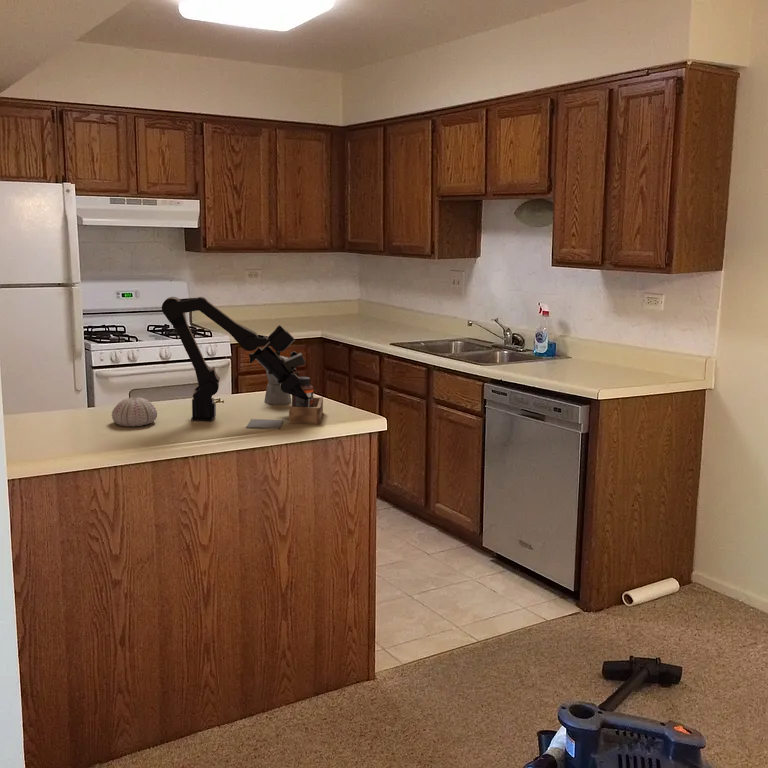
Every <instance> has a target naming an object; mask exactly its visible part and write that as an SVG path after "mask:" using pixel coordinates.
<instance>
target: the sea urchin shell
mask: <svg viewBox="0 0 768 768" xmlns="http://www.w3.org/2000/svg"><path fill="white" fill-rule="evenodd" d="M157 418H158V411H157V409H156V407H155V405H154V404H153V403H152V402H150V401H149V400H148V399H146V398H143V397H138V396H132V397H126V398H124V399H122V400H121V401H119V402H118V403H117V404H116V405H115V407H113V410H112V412H111V419H112V421H113V422H115V424H117V425H118V426H121V427H128V428H129V427H141V426H146V425H149V424H152V423H154V422H155V421H156V420H157Z"/></svg>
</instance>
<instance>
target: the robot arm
mask: <svg viewBox="0 0 768 768" xmlns="http://www.w3.org/2000/svg"><path fill="white" fill-rule="evenodd" d="M161 311H162V313H163V315H164V316H165V318H166V319H167V320H168V322H169V323H170V324H171V325H172V326H173V328H174V329H175V331H176V333H177V335H178V337H179V339H180V341H181V343H182V345H183V348H184V349H185V352H186V354H187V355H188V358H189V360H190V363H191V364H192V367H193V369H194V371H195V376H196V379H197V384H198V386H196V388H194V390H193V393H192V399H191V412H192V414H191V418H190V420H191V421H213V420H214V418H216V416H217V403H216V402H215V397H213V396H215V395H216V394H217V393H218V391H219V388H220V378H221V377H220V376H219V375H218V374H217V370H216V367H215V366H213V367H211V368H210V366H209V365H208V364H207V361H206V360H205V357H204V355H203V354H202V352H201V349H200V347H199V345H198V343H197V341H196V339H195V336H194V335H193V333H192V332H193V331H192V330H191V328H190V326H189V324H188V321H187V316H186V313H192V312H196V311H197V312H198V311H199V312H201V313H202V314H203V315H205V316H206V317H208V318H209V319H210V320H211V321H212V322H214V323H215V324H217V325H218V326H219V327H221V328H222V329H223V330H224V331H226V332H227V333H229V335H231V337H232V338H233V339H234V340H235V341H236V342H237V344H238V345H239V346H240V347H241V348H242V349H243V350H244V351H247V352H249V353H248V356H249V363H250V364H252V363H253V362H254V361H255V360H256V361H257V362H258V363H259V364H260V365H261V366H262V367H263V368H264V369H265V371H266V370H267V371H268V373H269V374H270V375H272V376H273V377H274V378H275V379H276V380H277V382H278V383H279V384H280V389H281V390H282V391H283V392H284V393H288V394H290V395H291V396H292V395H294V396H296V397H299V398H301V399H304V400H308V399H309V397H308V396H307V395H306V393H305V392H304V390H303V389H302V387H301V386H300V378H299V377H300V376H299V372H298V371H297V369H296V368H298V367H300V366H304V365H306V364H307V363H306V362H307V361H306V360H305V358H304V355H303V353H302V352H299V353H298V352H297V351H295V350H294V351H291V352H290V356H289V357H287V358H288V359H286V360H284V359H283V358H281V357H279V356H278V355H277V354H276V351H277V352H280V353H284V351H285V350H287V349H288V348H289V347H290V345H292V343H294V342H295V341H296V339H295V337H294V336H293V335H292V334H291V333H290V332H289V331H288V330H286V329H285V328H284V327H283V326H282V325H281V324H279V325H276V328H275V329H274V330H273V331H272V332H271V333H270V334H269V335H265V334H264V335H263V334H258V333H257V332H255V331H254V330H252V329H250V328H248V327H247V326H244V325H242V324H240V323H238V322H237V321H235V320H233V318H231V317H230V316H228V314H226V313H224V312H223V311H222V310H220V309H219V308H218V307H217V306H216V305H214V304H212V302H210V301H208V299H207V298H206V297H204V296H197V297H188V298H179V297H176V296H170V297H167V298H166V299H165V300H164V302H162V305H161ZM261 347H262V348H261ZM252 351H254V352H252Z"/></svg>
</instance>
